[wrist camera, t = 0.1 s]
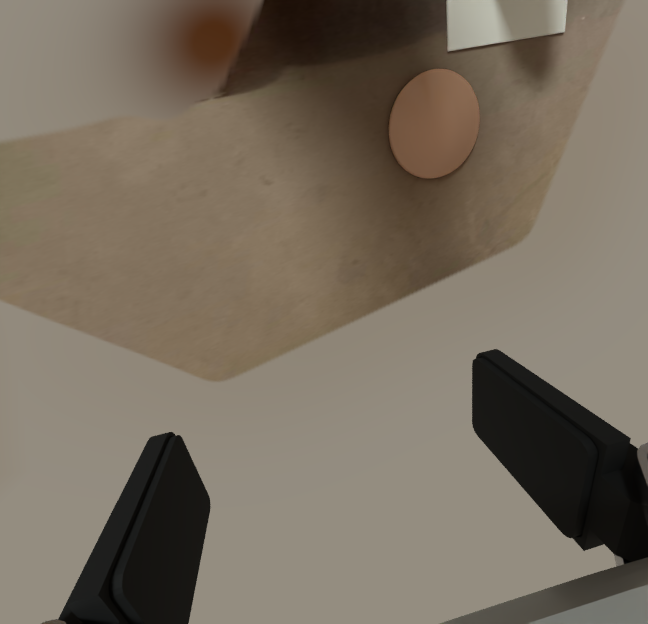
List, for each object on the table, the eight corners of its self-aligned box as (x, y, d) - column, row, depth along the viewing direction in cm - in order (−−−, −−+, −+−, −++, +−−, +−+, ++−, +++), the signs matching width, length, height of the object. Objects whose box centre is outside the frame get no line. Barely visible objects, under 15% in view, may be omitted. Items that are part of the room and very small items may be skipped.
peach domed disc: (383, 79, 34) (385, 77, 33) (477, 63, 35) (480, 61, 34) (393, 186, 38) (394, 186, 37) (476, 169, 39) (479, 169, 38)
